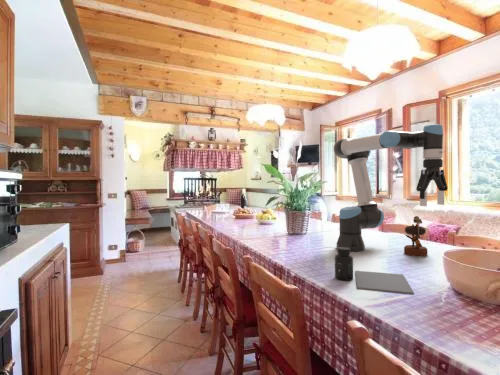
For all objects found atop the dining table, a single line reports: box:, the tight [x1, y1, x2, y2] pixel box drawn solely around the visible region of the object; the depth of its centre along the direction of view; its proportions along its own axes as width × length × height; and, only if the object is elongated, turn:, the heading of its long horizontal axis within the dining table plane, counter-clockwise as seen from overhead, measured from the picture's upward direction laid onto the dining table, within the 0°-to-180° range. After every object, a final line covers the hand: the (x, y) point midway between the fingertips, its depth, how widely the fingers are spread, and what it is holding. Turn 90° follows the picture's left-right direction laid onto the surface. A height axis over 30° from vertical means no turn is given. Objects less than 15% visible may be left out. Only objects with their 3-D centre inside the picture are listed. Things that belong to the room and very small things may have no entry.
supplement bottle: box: [334, 247, 354, 282], centre depth 113 cm, size 7×7×12 cm
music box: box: [403, 215, 428, 258], centre depth 150 cm, size 15×11×20 cm
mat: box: [354, 270, 415, 295], centre depth 109 cm, size 18×20×1 cm
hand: (432, 205), depth 133 cm, fingers open, 13 cm apart
